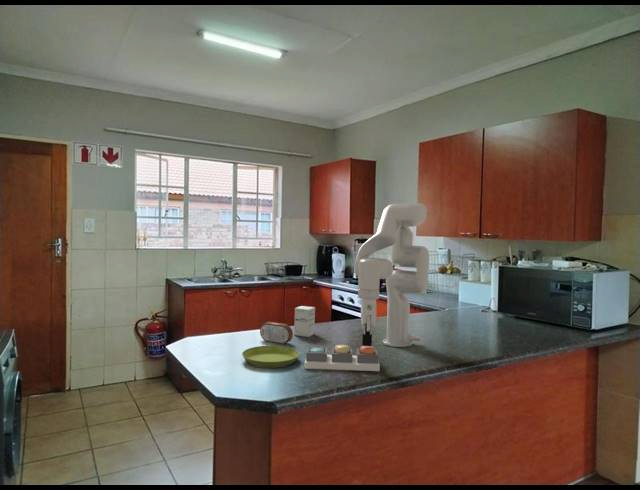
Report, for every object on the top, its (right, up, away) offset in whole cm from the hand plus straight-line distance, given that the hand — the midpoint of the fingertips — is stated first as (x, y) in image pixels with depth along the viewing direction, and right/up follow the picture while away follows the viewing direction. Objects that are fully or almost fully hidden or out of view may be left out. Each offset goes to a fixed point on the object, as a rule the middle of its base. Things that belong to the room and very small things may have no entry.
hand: (366, 345), depth 155 cm
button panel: (-9, -7, +1) cm, 12 cm away
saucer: (-35, -7, +4) cm, 36 cm away
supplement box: (-24, -6, +45) cm, 51 cm away
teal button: (-18, -5, +2) cm, 19 cm away
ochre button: (-9, -4, +1) cm, 10 cm away
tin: (-36, -6, +30) cm, 47 cm away
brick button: (0, -4, +1) cm, 4 cm away
